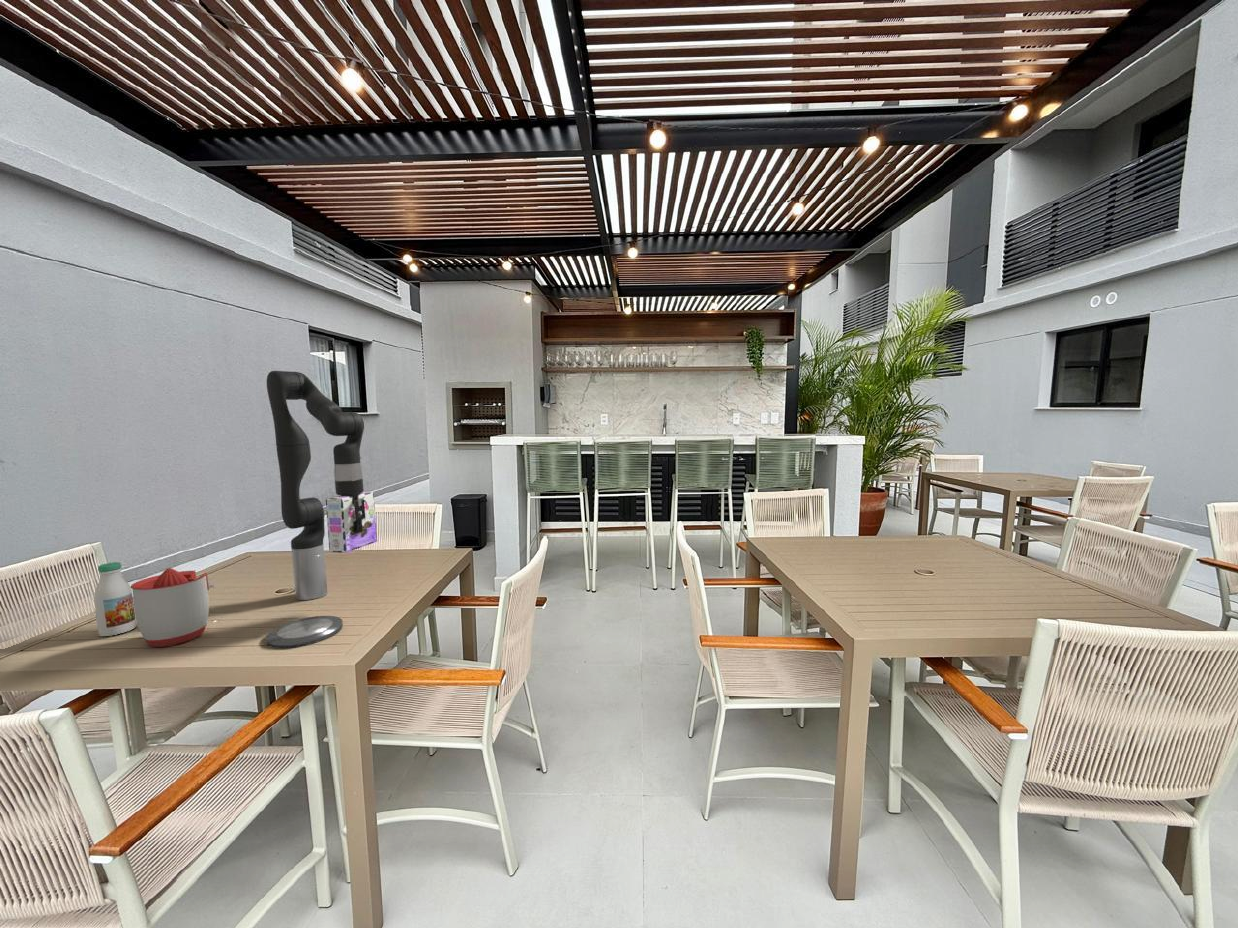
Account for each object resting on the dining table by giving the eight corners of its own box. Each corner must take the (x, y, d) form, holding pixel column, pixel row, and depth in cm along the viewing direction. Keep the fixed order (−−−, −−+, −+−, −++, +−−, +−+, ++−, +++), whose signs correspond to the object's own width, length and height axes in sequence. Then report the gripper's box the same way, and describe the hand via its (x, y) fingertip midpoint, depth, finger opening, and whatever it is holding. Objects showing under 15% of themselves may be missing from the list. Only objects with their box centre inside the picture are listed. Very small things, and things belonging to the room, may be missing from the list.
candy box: (345, 553, 148) (341, 498, 146) (328, 552, 149) (324, 497, 147) (378, 541, 161) (374, 491, 159) (362, 541, 162) (358, 490, 161)
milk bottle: (93, 640, 139) (84, 569, 137) (105, 630, 146) (97, 562, 144) (130, 633, 143) (121, 565, 141) (140, 624, 150) (132, 558, 148)
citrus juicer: (232, 629, 144) (225, 561, 142) (156, 655, 128) (147, 579, 127) (201, 621, 151) (193, 556, 149) (125, 645, 135) (116, 573, 133)
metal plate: (258, 635, 139) (257, 630, 139) (329, 615, 152) (328, 610, 152) (278, 654, 127) (277, 648, 127) (353, 630, 141) (352, 625, 140)
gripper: (326, 478, 155) (330, 530, 156) (345, 481, 145) (349, 536, 147) (352, 475, 160) (355, 525, 162) (371, 478, 151) (375, 531, 153)
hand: (352, 530), depth 154 cm, fingers closed on candy box, 7 cm apart
